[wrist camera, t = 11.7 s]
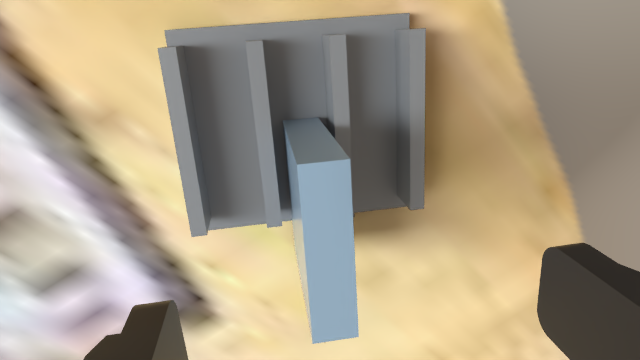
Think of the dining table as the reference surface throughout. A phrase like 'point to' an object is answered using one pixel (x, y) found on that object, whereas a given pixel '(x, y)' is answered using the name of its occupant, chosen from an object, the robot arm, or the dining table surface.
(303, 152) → the rectangular block
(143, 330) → the robot arm
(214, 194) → the dish rack
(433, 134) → the dining table surface
